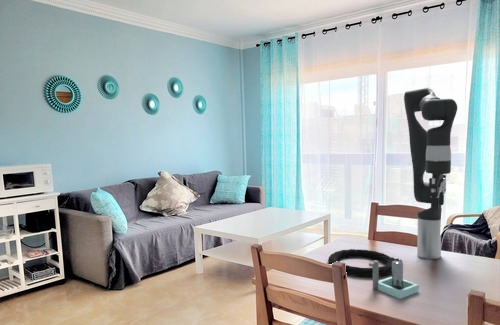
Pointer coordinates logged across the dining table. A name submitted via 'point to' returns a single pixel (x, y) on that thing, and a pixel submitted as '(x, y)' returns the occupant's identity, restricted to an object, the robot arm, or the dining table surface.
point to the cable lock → (366, 254)
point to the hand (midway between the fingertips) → (437, 206)
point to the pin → (397, 275)
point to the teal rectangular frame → (385, 284)
